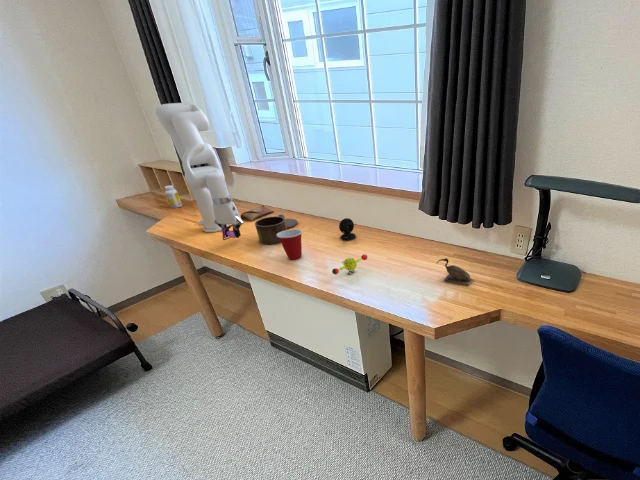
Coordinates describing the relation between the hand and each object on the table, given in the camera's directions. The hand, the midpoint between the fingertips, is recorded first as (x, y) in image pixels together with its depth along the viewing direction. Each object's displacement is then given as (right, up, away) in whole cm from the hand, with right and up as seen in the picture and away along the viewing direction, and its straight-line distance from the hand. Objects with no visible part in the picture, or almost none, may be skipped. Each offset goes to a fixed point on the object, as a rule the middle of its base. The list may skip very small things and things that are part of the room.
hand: (233, 236), depth 177 cm
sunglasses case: (-3, +18, +34) cm, 38 cm away
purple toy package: (0, -1, 0) cm, 1 cm away
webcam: (+56, -1, +2) cm, 56 cm away
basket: (+19, -1, +3) cm, 19 cm away
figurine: (+105, -24, -36) cm, 114 cm away
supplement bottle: (-64, +28, +54) cm, 89 cm away
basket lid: (+17, +10, +19) cm, 28 cm away
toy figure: (+64, -20, -29) cm, 73 cm away
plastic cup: (+36, -12, -15) cm, 40 cm away
